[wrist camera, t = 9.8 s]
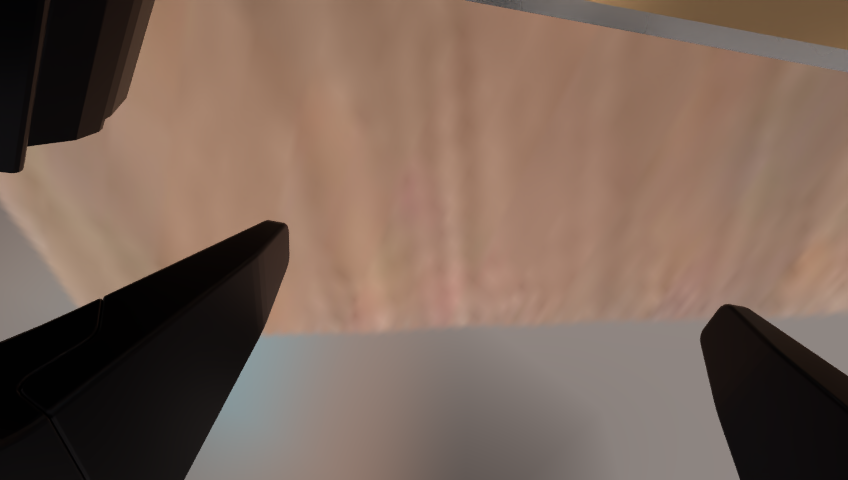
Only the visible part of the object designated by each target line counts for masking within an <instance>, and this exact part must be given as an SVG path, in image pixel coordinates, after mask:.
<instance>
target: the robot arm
mask: <svg viewBox="0 0 848 480" xmlns="http://www.w3.org/2000/svg"><path fill="white" fill-rule="evenodd" d="M154 1H155V0H0V172H5V173H17V172H20V171H22V170H23V168H24V163H25V157H26V150H27V146H34V145H42V144H49V143H57V142H65V141H72V140H77V139H80V138H83V137H86V136H88V135H91V134H94V133H97V132H99V131H100V130H101V129H102V128H103V125H104V121H105V119H106V118H108V117H110V116H111V115H112V114H113V113H114V112H115V110H116V109H117V108H118V107H119V106H120V105H121V104H122V102H123V101H124V100H125V99H126V97H127V94H128V91H129V87H130V84H131V80H132V77H133V73H134V70H135V67H136V63H137V60H138V56H139V53H140V49H141V46H142V42H143V39H144V36H145V32H146V29H147V25H148V22H149V18H150V15H151V12H152V8H153V5H154ZM288 263H289V229H288V226H287V225H286V224H285V223H281V222H276V221H271V220H266V221H264V222H261V223H259V224H257V225H255V226H253V227H251V228H249V229H247V230H244V231H242V232H240V233H238V234H236V235H234V236H232V237H229V238H227V239H225V240H223V241H221V242H219V243H217V244H215V245H212V246H210V247H208V248H206V249H204V250H202V251H200V252H198V253H195V254H193V255H191V256H189V257H187V258H185V259H183V260H181V261H178V262H176V263H174V264H172V265H170V266H168V267H166V268H163V269H161V270H159V271H157V272H155V273H153V274H151V275H149V276H146V277H144V278H142V279H140V280H138V281H136V282H134V283H132V284H129V285H127V286H125V287H123V288H121V289H119V290H117V291H114V292H112V293H110V294H108V295H106V296H104V298H103V300H102V299H97V300H95V301H93V302H91V303H89V304H86V305H84V306H82V307H80V308H78V309H76V310H74V311H71V312H69V313H67V314H65V315H62V316H60V317H58V318H56V319H53V320H51V321H49V322H47V323H45V324H42V325H40V326H38V327H35V328H33V329H30V330H28V331H26V332H23V333H21V334H18V335H16V336H13V337H11V338H9V339H6V340H4V341H1V342H0V480H184V479H185V477H186V475H187V473H188V471H189V469H190V468H191V466H192V464H193V462H194V460H195V458H196V456H197V454H198V452H199V451H200V449H201V447H202V445H203V443H204V441H205V439H206V437H207V436H208V434H209V432H210V430H211V428H212V426H213V424H214V422H215V420H216V419H217V417H218V415H219V413H220V411H221V409H222V407H223V405H224V403H225V401H226V399H227V398H228V396H229V394H230V392H231V390H232V388H233V386H234V384H235V383H236V381H237V379H238V377H239V375H240V373H241V371H242V369H243V367H244V366H245V363H246V362H247V360H248V358H249V356H250V354H251V352H252V350H253V349H254V347H255V344H256V343H257V341H258V339H259V337H260V335H261V333H262V331H263V329H264V327H265V324H266V322H267V319H268V317H269V314H270V311H271V309H272V306H273V304H274V301H275V298H276V296H277V293H278V290H279V288H280V285H281V282H282V280H283V277H284V275H285V272H286V269H287V266H288ZM700 342H701V347H702V351H703V356H704V360H705V365H706V369H707V373H708V378H709V382H710V386H711V390H712V395H713V399H714V403H715V407H716V410H717V413H718V417H719V420H720V423H721V426H722V429H723V432H724V435H725V437H726V440H727V443H728V446H729V449H730V451H731V455H732V457H733V460H734V463H735V466H736V469H737V472H738V475H739V478H740V480H848V376H847V375H846V374H844V373H843V372H841V371H840V370H838V369H837V368H835V367H834V366H832V365H831V364H829V363H828V362H827V361H825V360H823V359H822V358H820V357H819V356H818V355H816V354H815V353H813V352H812V351H810V350H809V349H807V348H806V347H804V346H803V345H802V344H800V343H799V342H797V341H796V340H794V339H793V338H791V337H790V336H788V335H787V334H785V333H784V332H782V331H781V330H780V329H778V328H777V327H775V326H774V325H772V324H771V323H769V322H768V321H766V320H765V319H763V318H762V317H760V316H759V315H757V314H756V313H755V312H753V311H752V310H750V309H748V308H746V307H742V306H736V305H731V304H725V305H723V306H721V307H720V308H719V309H718V310H717V312H716V313H715V314H714V316H713V317H712V318H711V320H710V321H709V322H708V324H707V325H706V326H705V328H704V329H703V331H702V333H701V337H700Z"/></svg>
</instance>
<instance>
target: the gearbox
mask: <svg viewBox="0 0 848 480" xmlns="http://www.w3.org/2000/svg"><path fill="white" fill-rule="evenodd" d="M467 1H472V2H477V3H483V4H488V5H493V6H499V7H504V8H509V9H515V10H520V11H525V12H530V13H536V14H541V15H546V16H552V17H557V18H562V19H568V20H573V21H578V22H584V23H589V24H594V25H600V26H605V27H610V28H615V29H621V30H626V31H631V32H637V33H642V34H647V35H653V36H658V37H663V38H669V39H674V40H679V41H685V42H690V43H695V44H700V45H706V46H711V47H716V48H722V49H727V50H732V51H738V52H743V53H748V54H754V55H759V56H764V57H770V58H775V59H780V60H785V61H791V62H796V63H801V64H807V65H812V66H817V67H823V68H828V69H833V70H839V71H844V72H848V0H467Z"/></svg>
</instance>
